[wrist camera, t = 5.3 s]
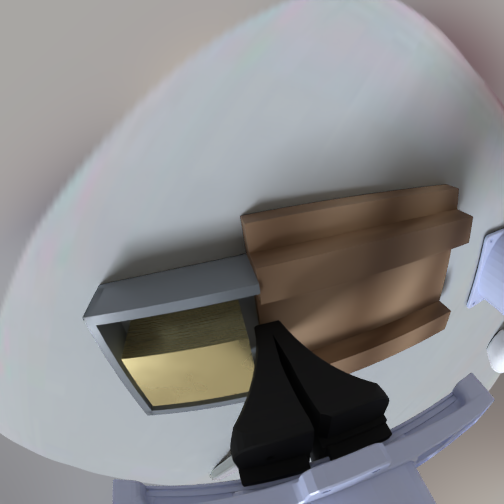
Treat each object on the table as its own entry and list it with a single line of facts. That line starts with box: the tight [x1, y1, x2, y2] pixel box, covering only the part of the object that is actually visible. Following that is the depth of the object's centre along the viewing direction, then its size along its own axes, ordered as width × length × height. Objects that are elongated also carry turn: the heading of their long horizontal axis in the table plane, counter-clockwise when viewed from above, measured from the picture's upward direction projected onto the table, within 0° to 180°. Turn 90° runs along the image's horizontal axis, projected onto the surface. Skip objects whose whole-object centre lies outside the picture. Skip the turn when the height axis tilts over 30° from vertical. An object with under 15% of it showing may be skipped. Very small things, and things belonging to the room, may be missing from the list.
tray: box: [83, 254, 260, 415], centre depth 14 cm, size 8×8×3 cm
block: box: [121, 300, 254, 406], centre depth 13 cm, size 6×4×3 cm, turn 98°
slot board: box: [240, 184, 473, 374], centre depth 15 cm, size 14×12×3 cm
